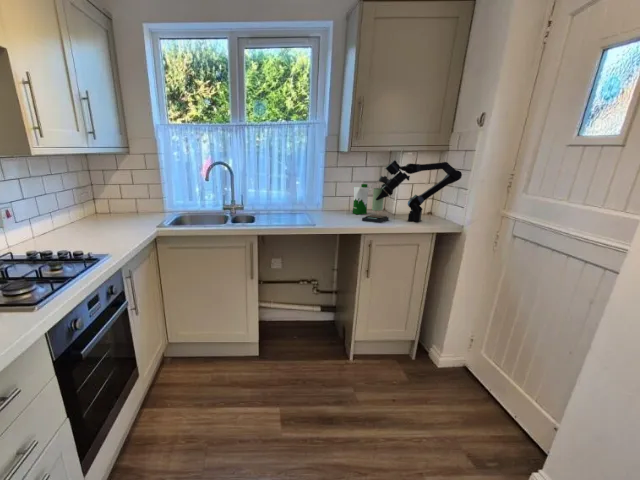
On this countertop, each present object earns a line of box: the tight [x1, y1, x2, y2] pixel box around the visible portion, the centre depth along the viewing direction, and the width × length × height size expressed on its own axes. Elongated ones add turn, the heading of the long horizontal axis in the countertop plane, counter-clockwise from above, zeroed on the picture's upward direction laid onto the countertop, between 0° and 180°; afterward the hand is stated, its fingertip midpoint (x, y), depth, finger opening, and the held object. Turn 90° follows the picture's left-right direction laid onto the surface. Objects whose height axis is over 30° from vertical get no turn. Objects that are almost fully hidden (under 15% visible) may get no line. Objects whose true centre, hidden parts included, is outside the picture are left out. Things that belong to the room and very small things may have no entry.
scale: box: [361, 214, 390, 224], centre depth 228 cm, size 12×12×3 cm
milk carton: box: [352, 183, 370, 216], centre depth 251 cm, size 9×9×20 cm
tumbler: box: [371, 187, 385, 212], centre depth 224 cm, size 6×6×13 cm
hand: (375, 199), depth 225 cm, fingers closed on tumbler, 6 cm apart
